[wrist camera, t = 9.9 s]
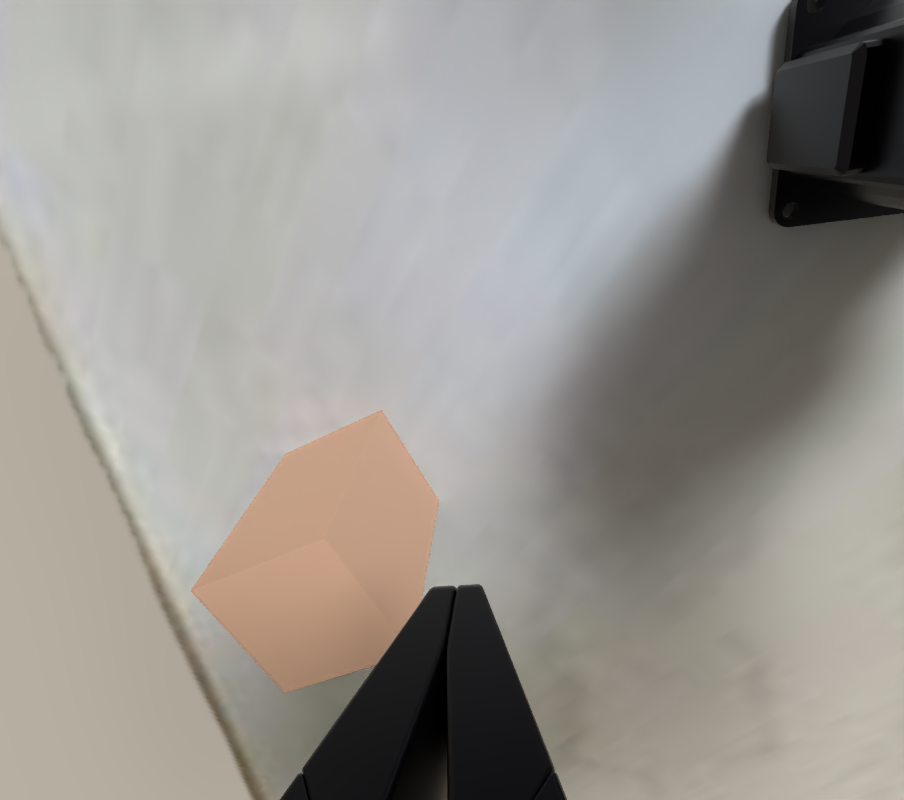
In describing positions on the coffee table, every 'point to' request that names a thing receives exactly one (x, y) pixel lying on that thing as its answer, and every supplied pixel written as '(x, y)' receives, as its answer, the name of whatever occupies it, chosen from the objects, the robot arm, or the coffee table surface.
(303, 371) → the coffee table surface
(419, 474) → the terracotta block
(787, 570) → the coffee table surface
